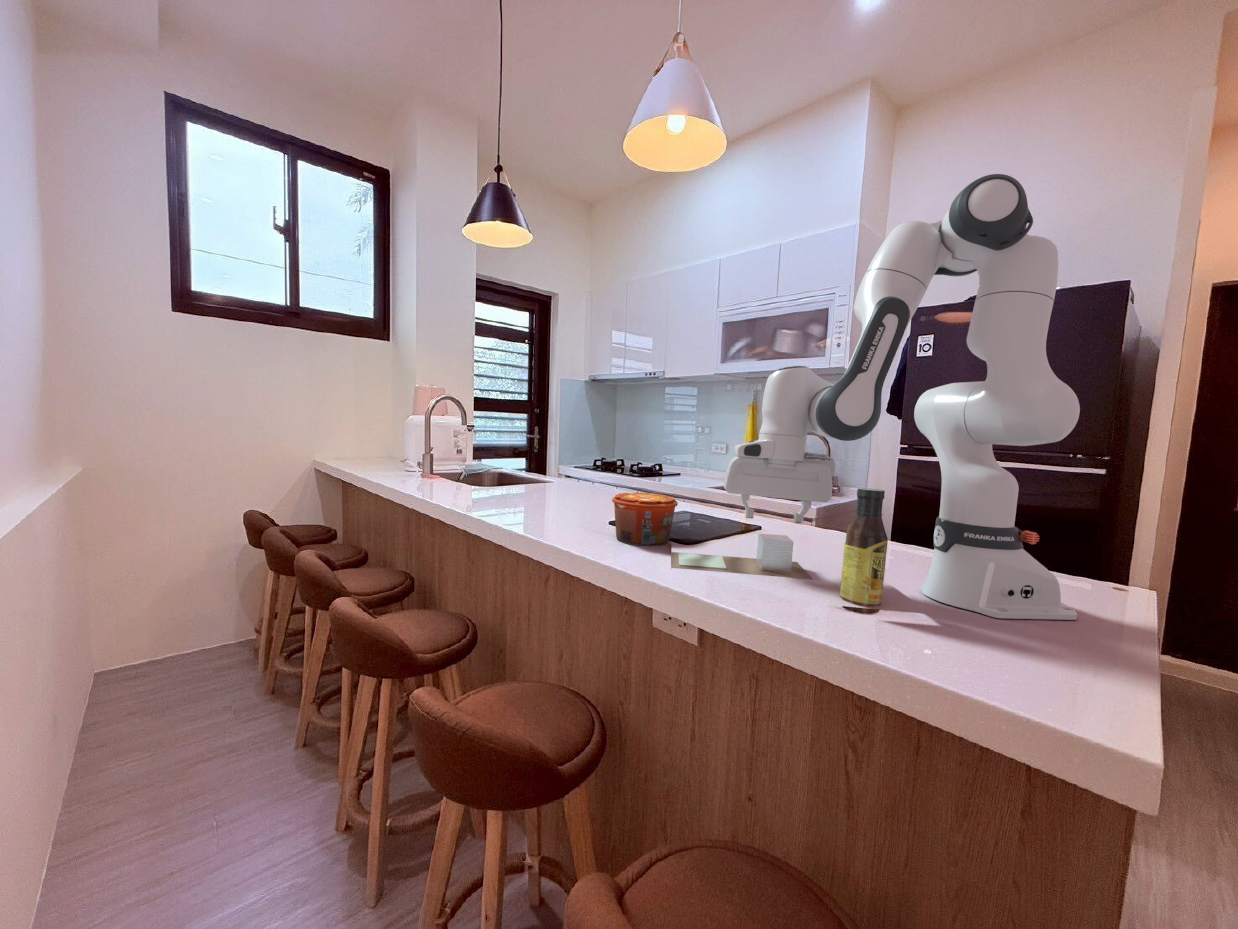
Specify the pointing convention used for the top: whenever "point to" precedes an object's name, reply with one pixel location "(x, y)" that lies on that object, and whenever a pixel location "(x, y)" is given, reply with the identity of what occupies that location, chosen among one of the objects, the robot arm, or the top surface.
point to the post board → (730, 565)
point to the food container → (643, 518)
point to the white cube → (774, 553)
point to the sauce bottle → (865, 553)
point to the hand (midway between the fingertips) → (773, 520)
